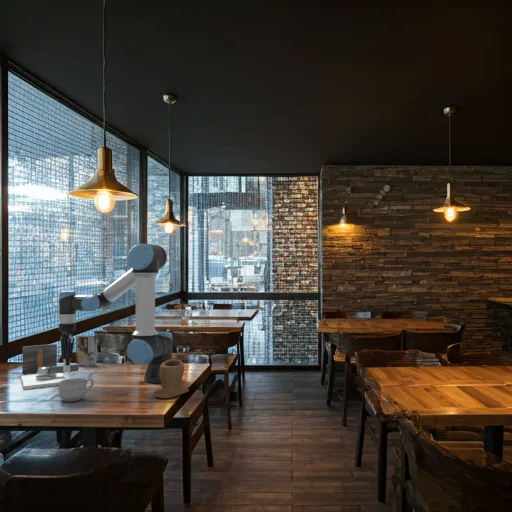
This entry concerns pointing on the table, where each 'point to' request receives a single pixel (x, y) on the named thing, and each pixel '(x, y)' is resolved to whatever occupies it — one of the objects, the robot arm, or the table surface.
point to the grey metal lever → (53, 371)
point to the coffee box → (86, 350)
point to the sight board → (38, 357)
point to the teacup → (74, 389)
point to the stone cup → (171, 379)
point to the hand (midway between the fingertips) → (66, 371)
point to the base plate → (40, 381)
